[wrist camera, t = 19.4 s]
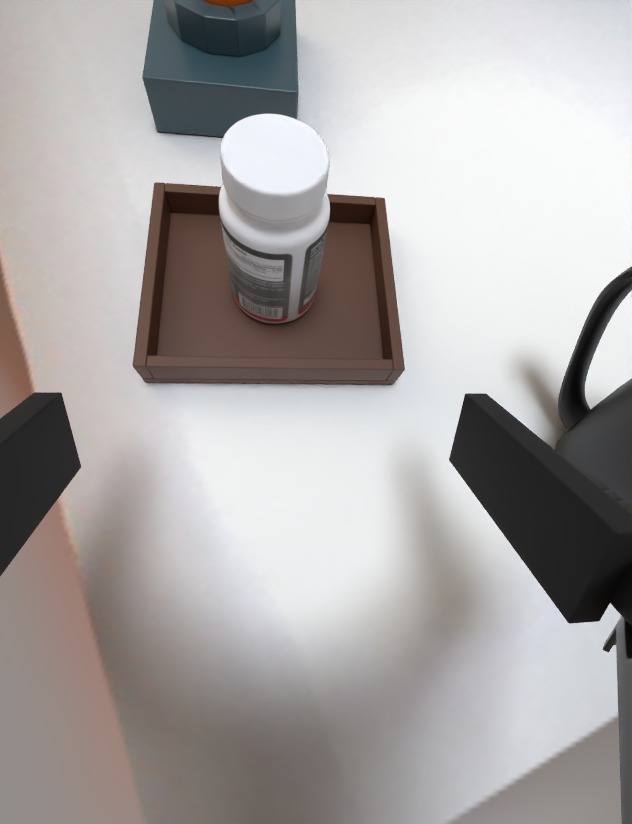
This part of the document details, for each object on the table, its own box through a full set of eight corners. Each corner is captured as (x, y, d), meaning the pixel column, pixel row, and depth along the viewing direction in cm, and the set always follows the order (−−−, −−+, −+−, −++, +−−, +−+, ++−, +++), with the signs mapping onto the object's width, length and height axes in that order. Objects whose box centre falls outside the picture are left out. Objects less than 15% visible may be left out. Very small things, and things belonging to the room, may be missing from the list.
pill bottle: (291, 244, 23) (303, 91, 15) (330, 307, 22) (363, 178, 14) (217, 271, 22) (188, 120, 14) (253, 339, 21) (244, 217, 13)
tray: (145, 382, 20) (132, 366, 18) (163, 210, 23) (153, 181, 22) (393, 384, 22) (405, 369, 20) (376, 223, 25) (384, 197, 23)
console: (295, 143, 26) (300, 57, 22) (157, 132, 25) (131, 38, 21) (291, 29, 30) (296, -66, 25) (171, 15, 29) (152, -87, 24)
